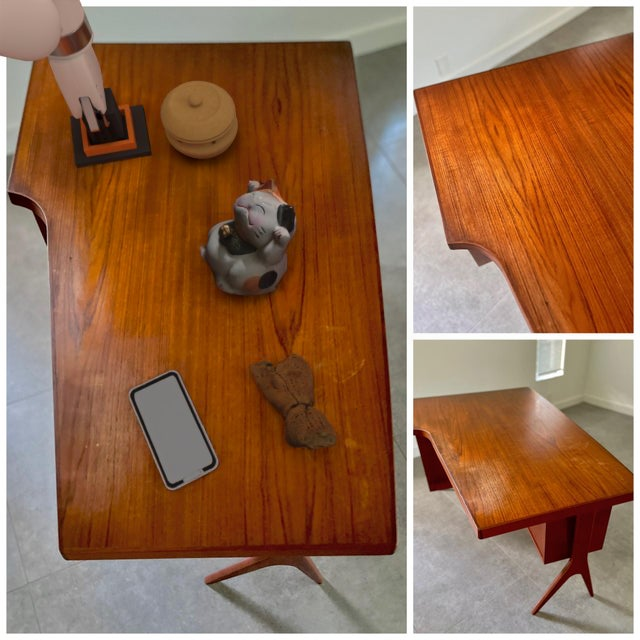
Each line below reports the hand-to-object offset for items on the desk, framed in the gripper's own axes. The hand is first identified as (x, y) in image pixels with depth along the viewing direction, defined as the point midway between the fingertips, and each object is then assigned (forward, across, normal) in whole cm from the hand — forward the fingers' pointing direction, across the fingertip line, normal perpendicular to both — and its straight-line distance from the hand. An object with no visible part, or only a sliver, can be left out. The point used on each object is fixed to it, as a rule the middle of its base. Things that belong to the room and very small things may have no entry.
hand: (106, 126), depth 86 cm
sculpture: (+3, +52, +18) cm, 55 cm away
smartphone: (+3, +51, +3) cm, 51 cm away
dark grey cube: (+1, 0, 0) cm, 1 cm away
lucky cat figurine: (+3, +27, +18) cm, 33 cm away
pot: (+3, +4, +15) cm, 16 cm away
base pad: (+3, 0, 0) cm, 3 cm away
